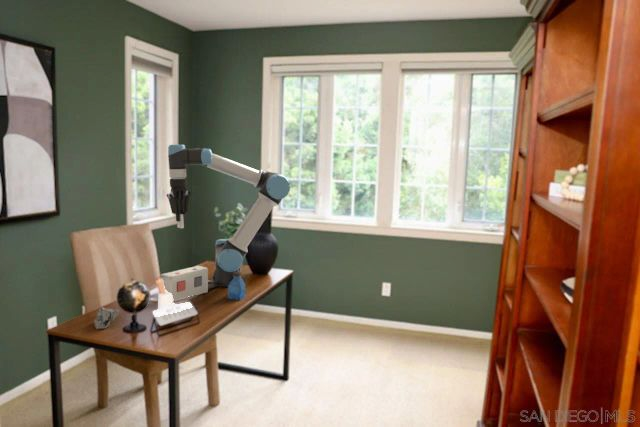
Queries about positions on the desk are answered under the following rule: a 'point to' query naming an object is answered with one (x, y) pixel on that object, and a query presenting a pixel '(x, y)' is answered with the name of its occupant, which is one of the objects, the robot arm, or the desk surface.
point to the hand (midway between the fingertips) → (180, 227)
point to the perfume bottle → (236, 287)
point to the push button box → (187, 276)
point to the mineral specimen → (105, 317)
